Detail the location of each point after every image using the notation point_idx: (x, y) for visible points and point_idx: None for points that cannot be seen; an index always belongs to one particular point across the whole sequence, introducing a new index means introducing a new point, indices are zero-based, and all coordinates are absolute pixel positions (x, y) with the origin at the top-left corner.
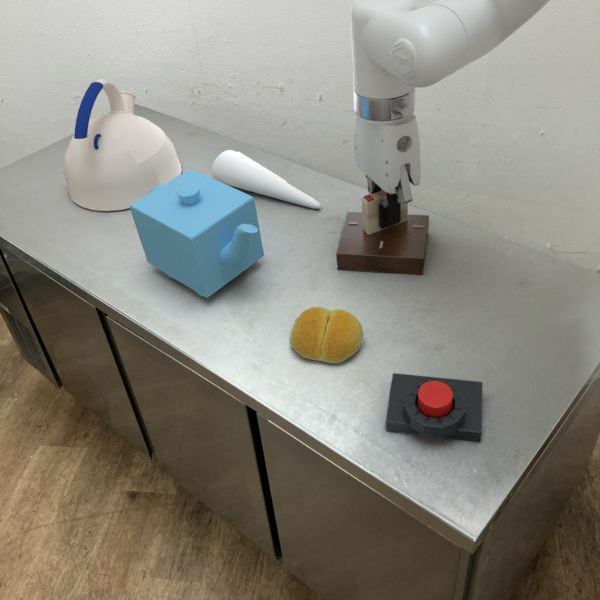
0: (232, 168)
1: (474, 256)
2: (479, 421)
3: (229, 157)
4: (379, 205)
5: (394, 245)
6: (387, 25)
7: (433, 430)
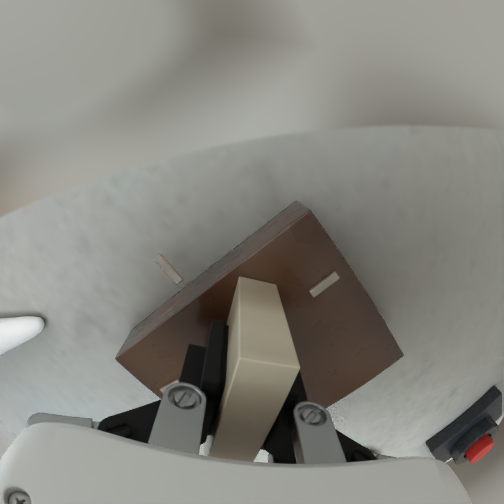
0: None
1: (433, 204)
2: (500, 412)
3: None
4: (261, 448)
5: (322, 377)
6: None
7: None
